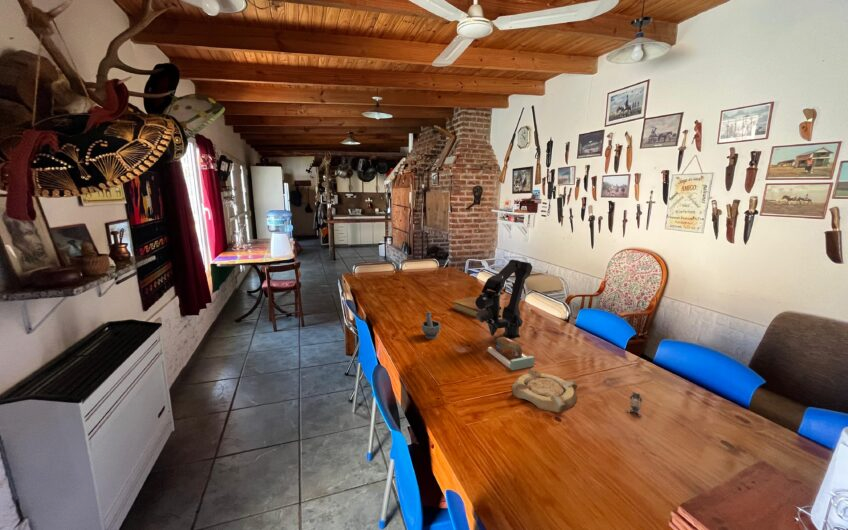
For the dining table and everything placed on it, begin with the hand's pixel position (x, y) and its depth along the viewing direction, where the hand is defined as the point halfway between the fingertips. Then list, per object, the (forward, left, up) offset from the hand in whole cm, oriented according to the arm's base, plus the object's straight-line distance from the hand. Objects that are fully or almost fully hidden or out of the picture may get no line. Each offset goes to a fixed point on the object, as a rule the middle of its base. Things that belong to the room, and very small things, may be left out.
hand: (492, 335), depth 168 cm
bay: (0, +15, -5) cm, 15 cm away
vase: (-17, +63, -5) cm, 65 cm away
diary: (-18, -48, -6) cm, 52 cm away
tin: (0, +14, -5) cm, 15 cm away
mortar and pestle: (+24, -20, -5) cm, 32 cm away
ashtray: (+4, +44, -6) cm, 44 cm away
